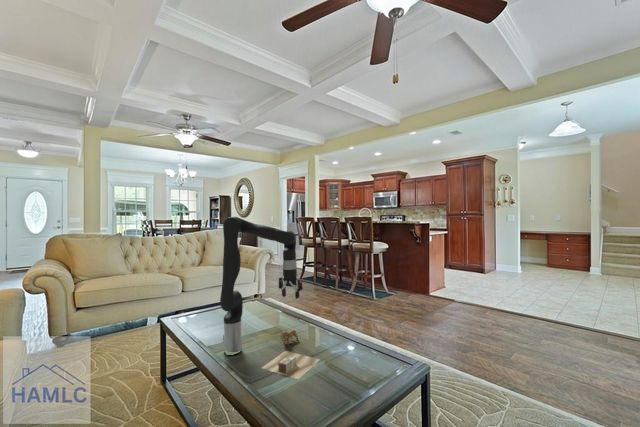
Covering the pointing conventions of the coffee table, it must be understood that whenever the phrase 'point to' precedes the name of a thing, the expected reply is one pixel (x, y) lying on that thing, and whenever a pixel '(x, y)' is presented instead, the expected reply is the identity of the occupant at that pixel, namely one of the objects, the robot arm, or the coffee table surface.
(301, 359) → the wooden board
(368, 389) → the coffee table surface
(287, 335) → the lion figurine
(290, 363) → the white block
